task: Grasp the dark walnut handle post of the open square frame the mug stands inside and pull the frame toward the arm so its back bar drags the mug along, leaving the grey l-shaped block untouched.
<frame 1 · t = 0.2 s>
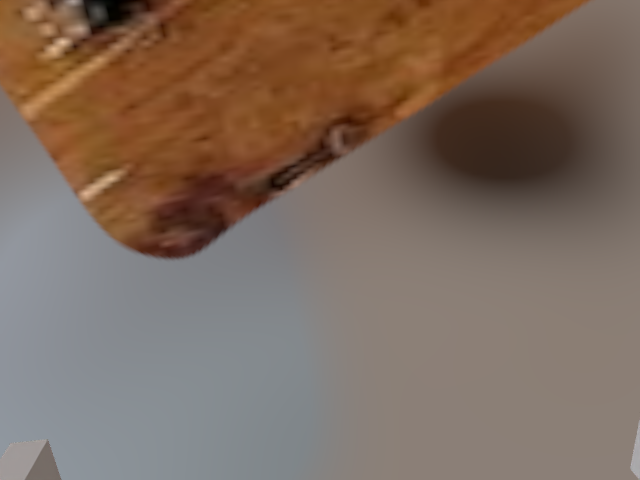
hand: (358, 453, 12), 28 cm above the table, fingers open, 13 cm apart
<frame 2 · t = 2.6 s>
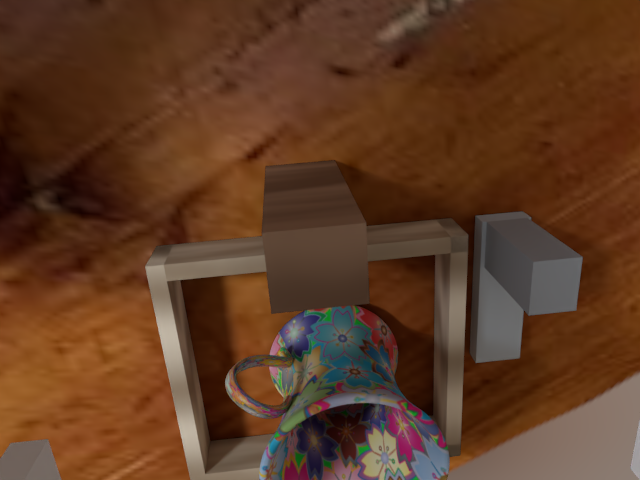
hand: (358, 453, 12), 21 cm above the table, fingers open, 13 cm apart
open square frame: (320, 366, 29), point 5 cm above the table, slide at 0.0 cm
grey l-shaped block: (518, 312, 31), point 4 cm above the table, slide at 0.0 cm
mug: (315, 342, 35), resting in open square frame
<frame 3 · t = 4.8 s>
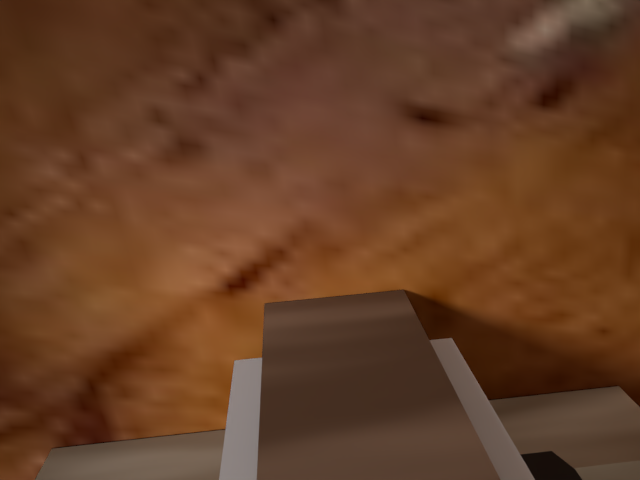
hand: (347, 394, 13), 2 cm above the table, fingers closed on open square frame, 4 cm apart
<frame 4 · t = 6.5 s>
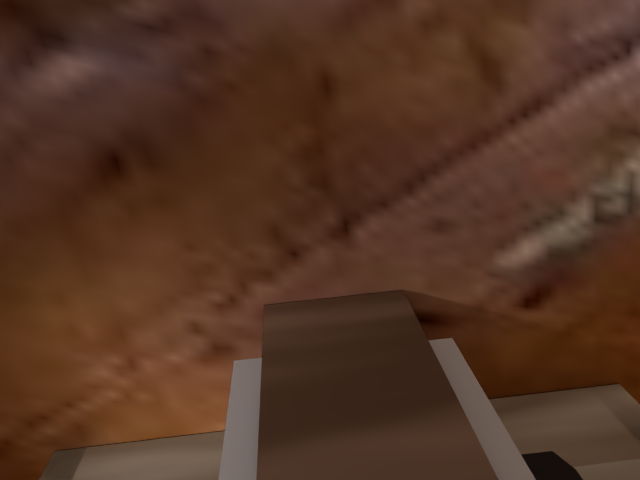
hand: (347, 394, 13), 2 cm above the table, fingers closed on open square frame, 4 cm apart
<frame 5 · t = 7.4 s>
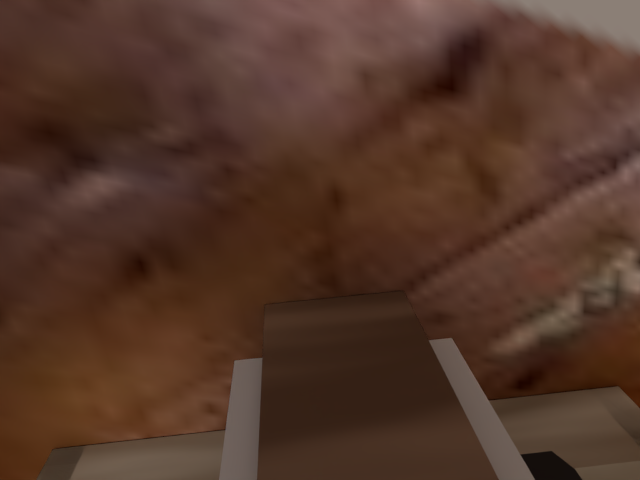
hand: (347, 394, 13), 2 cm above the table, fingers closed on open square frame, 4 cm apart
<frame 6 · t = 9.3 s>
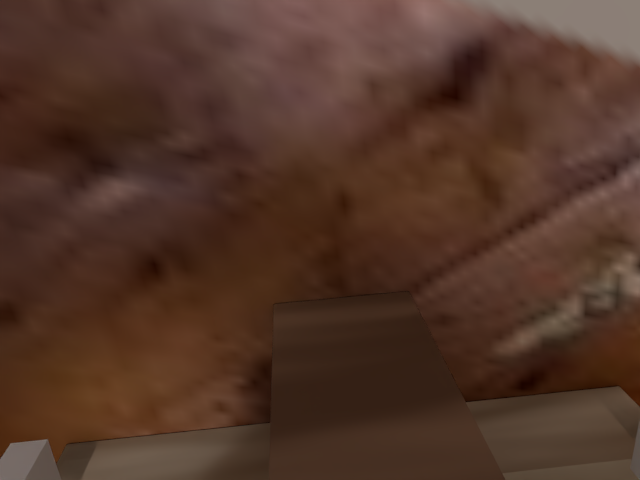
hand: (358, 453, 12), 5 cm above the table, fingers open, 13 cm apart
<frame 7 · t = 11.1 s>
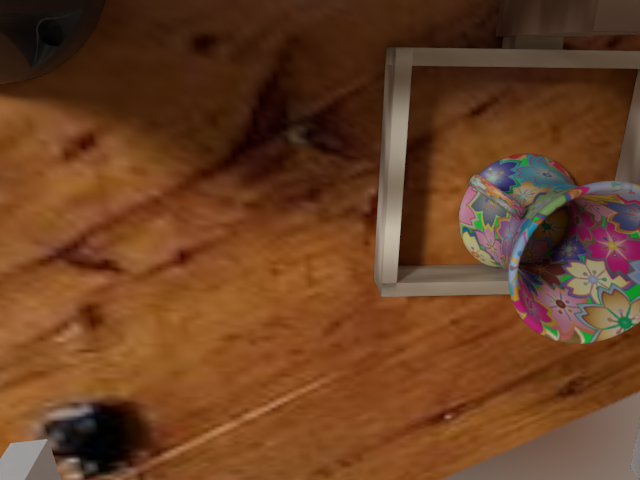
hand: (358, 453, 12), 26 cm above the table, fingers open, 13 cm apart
open square frame: (550, 156, 30), point 6 cm above the table, slide at 8.9 cm
mug: (497, 199, 37), resting in open square frame
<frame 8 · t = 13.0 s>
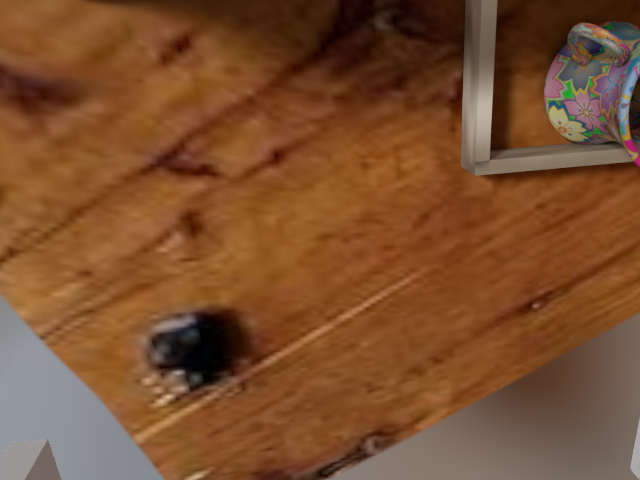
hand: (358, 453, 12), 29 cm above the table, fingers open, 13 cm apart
mug: (579, 74, 38), resting in open square frame
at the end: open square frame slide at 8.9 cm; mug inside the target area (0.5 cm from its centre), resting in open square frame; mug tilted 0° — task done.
